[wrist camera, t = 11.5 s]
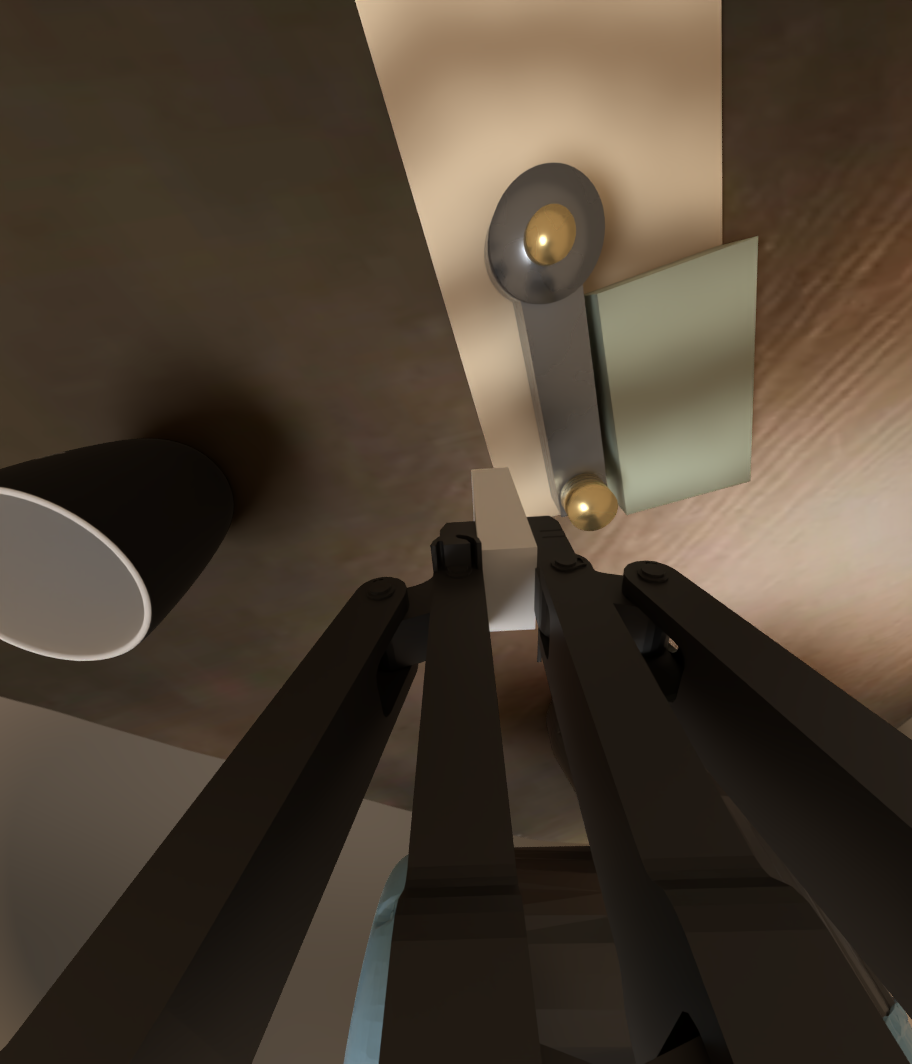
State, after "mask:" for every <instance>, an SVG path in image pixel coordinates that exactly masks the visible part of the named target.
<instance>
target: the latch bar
mask: <svg viewBox="0 0 912 1064" xmlns="http://www.w3.org/2000/svg"><path fill="white" fill-rule="evenodd" d="M604 236H605V216H604V209H603V205H602V202H601V199H600V196H599V194H598V192H597V190H596V188H595V186H594V185H593V183H592V182H591V181H590V180H589V178H588V177H587V176H586V175H584V174H583V173H582V172H581V171H579V170H578V169H576V168H574V167H572V166H570V165H567V164H563V163H553V162H552V163H544V164H540V165H537V166H534V167H532V168H530V169H528V170H527V171H525V172H524V173H522V174H521V175H519V176H518V177H517V178H516V179H515V180H514V181H513V182H512V183H511V184H510V185H509V186H508V188H507V189H506V191H505V192H504V193H503V195H502V197H501V199H500V201H499V202H498V204H497V207H496V209H495V212H494V215H493V217H492V220H491V222H490V225H489V227H488V230H487V234H486V238H485V244H484V260H485V266H486V270H487V274H488V276H489V278H490V281H491V282H492V284H493V286H494V287H495V288H496V290H497V291H498V292H499V293H500V294H501V295H502V296H503V297H505V298H506V299H508V300H509V301H511V302H513V306H514V312H515V317H516V322H517V327H518V332H519V337H520V342H521V347H522V352H523V357H524V362H525V367H526V372H527V377H528V382H529V387H530V392H531V397H532V402H533V407H534V413H535V418H536V423H537V428H538V433H539V438H540V443H541V448H542V453H543V458H544V463H545V468H546V473H547V478H548V483H549V488H550V493H551V497H552V499H553V501H554V503H555V505H556V507H557V509H558V511H559V513H560V515H561V517H565V516H568V517H569V519H570V521H571V522H572V524H573V525H574V526H575V527H577V528H578V529H581V530H584V531H594V530H598V529H601V528H603V527H605V526H606V525H608V524H609V523H610V522H611V521H612V520H613V518H614V517H615V515H616V513H617V509H618V502H617V499H616V497H615V495H614V494H613V493H612V491H611V490H610V489H609V488H608V487H607V479H606V471H605V463H604V455H603V447H602V438H601V430H600V422H599V414H598V406H597V397H596V389H595V381H594V373H593V365H592V356H591V348H590V340H589V332H588V324H587V316H586V307H585V299H584V291H583V283H584V282H585V281H586V280H587V279H588V277H589V276H590V274H591V273H592V271H593V269H594V267H595V266H596V264H597V261H598V259H599V256H600V254H601V250H602V247H603V242H604Z"/></svg>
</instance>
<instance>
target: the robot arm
mask: <svg viewBox="0 0 912 1064" xmlns="http://www.w3.org/2000/svg"><path fill="white" fill-rule="evenodd" d="M471 476H472V494H473V513H474V521H469V522H453V523H446V524H445V525H444V527H443V528H442V529H441V530H440V537H438V538H437V539H435V540H434V541H433V542H432V544H431V554H432V563H433V572H434V574H433V577H432V578H431V579H429V580H428V581H426V582H424V583H422V584H419V585H416V586H413V587H409V588H407V587H406V585H405V583H404V582H403V581H401V580H400V579H397V578H393V577H381V578H376V579H373V580H370V581H368V582H366V583H364V584H363V585H362V586H360V587H359V588H358V589H357V590H356V592H355V593H354V594H353V596H352V597H351V598H350V599H349V601H348V602H347V603H346V605H345V606H344V607H343V609H342V610H341V611H340V612H339V614H338V615H337V616H336V618H335V619H334V620H333V622H332V623H331V624H330V625H329V627H328V628H327V629H326V631H325V632H324V633H323V635H322V636H321V637H320V638H319V640H318V641H317V642H316V644H315V645H314V646H313V648H312V649H311V650H310V651H309V653H308V654H307V655H306V657H305V658H304V659H303V661H302V662H301V663H300V664H299V666H298V667H297V668H296V670H295V671H294V672H293V674H292V675H291V676H290V677H289V679H288V680H287V681H286V683H285V684H284V685H283V687H282V688H281V689H280V690H279V692H278V693H277V694H276V696H275V697H274V698H273V700H272V701H271V702H270V703H269V705H268V706H267V707H266V709H265V710H264V711H263V713H262V714H261V715H260V716H259V718H258V719H257V720H256V722H255V723H254V724H253V726H252V727H251V728H250V729H249V731H248V732H247V733H246V735H245V736H244V737H243V739H242V740H241V741H240V742H239V744H238V745H237V746H236V748H235V749H234V750H233V752H232V753H231V754H230V755H229V757H228V758H227V759H226V761H225V762H224V763H223V765H222V766H221V767H220V769H219V770H218V771H217V772H216V774H215V775H214V776H213V778H212V779H211V780H210V781H209V783H208V784H207V785H206V787H205V788H204V789H203V791H202V792H201V793H200V795H199V796H198V797H197V798H196V800H195V801H194V802H193V804H192V805H191V806H190V808H189V809H188V810H187V811H186V813H185V814H184V815H183V817H182V818H181V819H180V820H179V822H178V823H177V824H176V826H175V827H174V828H173V830H172V831H171V832H170V834H169V835H168V836H167V837H166V839H165V840H164V841H163V843H162V844H161V845H160V846H159V848H158V849H157V850H156V852H155V853H154V855H153V856H152V857H151V858H150V860H149V861H148V862H147V863H146V865H145V866H144V867H143V869H142V870H141V871H140V872H139V874H138V875H137V876H136V878H135V879H134V880H133V882H132V883H131V884H130V886H129V887H128V888H127V889H126V891H125V892H124V893H123V895H122V896H121V897H120V899H119V900H118V901H117V902H116V904H115V905H114V906H113V908H112V909H111V910H110V912H109V913H108V914H107V915H106V917H105V918H104V919H103V921H102V922H101V923H100V925H99V926H98V927H97V928H96V930H95V931H94V932H93V934H92V935H91V936H90V938H89V939H88V940H87V942H86V943H85V944H84V945H83V947H82V948H81V949H80V950H79V952H78V953H77V955H76V956H75V957H74V958H73V960H72V961H71V962H70V963H69V965H68V966H67V967H66V969H65V970H64V971H63V973H62V974H61V975H60V976H59V978H58V979H57V980H56V982H55V983H54V984H53V986H52V987H51V988H50V989H49V991H48V992H47V993H46V995H45V996H44V997H43V999H42V1000H41V1001H40V1002H39V1004H38V1005H37V1006H36V1008H35V1009H34V1010H33V1012H32V1013H31V1014H30V1015H29V1017H28V1018H27V1019H26V1021H25V1022H24V1023H23V1025H22V1026H21V1027H20V1028H19V1030H18V1031H17V1032H16V1034H15V1035H14V1036H13V1038H12V1039H11V1040H10V1041H9V1043H8V1044H7V1045H6V1046H5V1047H4V1048H3V1049H2V1050H1V1051H0V1064H252V1061H253V1059H254V1056H255V1054H256V1052H257V1049H258V1047H259V1045H260V1042H261V1040H262V1037H263V1035H264V1033H265V1030H266V1028H267V1026H268V1023H269V1021H270V1019H271V1016H272V1014H273V1011H274V1009H275V1007H276V1004H277V1002H278V1000H279V997H280V995H281V993H282V990H283V988H284V985H285V983H286V981H287V978H288V976H289V974H290V971H291V969H292V966H293V964H294V962H295V959H296V957H297V955H298V952H299V950H300V947H301V945H302V943H303V940H304V938H305V936H306V933H307V931H308V928H309V926H310V924H311V921H312V919H313V916H314V914H315V912H316V909H317V907H318V904H319V902H320V900H321V898H322V895H323V892H324V890H325V888H326V886H327V883H328V881H329V879H330V876H331V874H332V872H333V869H334V867H335V864H336V862H337V860H338V857H339V855H340V853H341V850H342V848H343V846H344V843H345V841H346V838H347V836H348V833H349V831H350V829H351V826H352V824H353V822H354V819H355V817H356V814H357V812H358V810H359V807H360V805H361V803H362V800H363V798H364V796H365V793H366V791H367V789H368V786H369V784H370V782H371V779H372V777H373V774H374V772H375V770H376V767H377V765H378V763H379V760H380V758H381V755H382V753H383V751H384V748H385V746H386V744H387V741H388V739H389V736H390V734H391V732H392V729H393V727H394V725H395V722H396V720H397V717H398V715H399V713H400V710H401V708H402V706H403V703H404V701H405V699H406V696H407V694H408V691H409V689H410V687H411V684H412V682H413V680H414V677H415V675H416V672H417V669H418V663H421V662H424V661H426V664H425V675H424V686H423V698H422V709H421V720H420V731H419V743H418V754H417V765H416V776H415V788H414V799H413V810H412V822H411V833H410V844H409V854H408V855H406V856H405V857H404V858H402V859H401V860H400V861H399V862H398V864H397V865H396V866H395V867H394V869H393V870H392V872H391V874H390V875H389V878H388V880H387V882H386V884H385V887H384V890H383V892H382V895H381V897H380V901H379V904H378V908H377V911H376V914H375V918H374V921H373V924H372V928H371V932H370V937H369V940H368V945H367V949H366V953H365V957H364V962H363V966H362V970H361V975H360V979H359V984H358V989H357V994H356V999H355V1004H354V1009H353V1014H352V1019H351V1025H350V1030H349V1036H348V1041H347V1047H346V1053H345V1059H344V1064H912V1028H911V1026H910V1024H909V1022H908V1017H907V1014H908V1015H909V1017H910V1018H911V1019H912V740H911V739H909V738H908V737H907V736H905V735H904V734H903V733H901V732H900V731H898V730H897V729H896V728H894V727H893V726H891V725H890V724H889V723H887V722H886V721H885V720H883V719H882V718H880V717H879V716H878V715H876V714H875V713H873V712H872V711H871V710H869V709H868V708H867V707H865V706H864V705H862V704H861V703H860V702H858V701H857V700H855V699H854V698H853V697H851V696H850V695H848V694H847V693H846V692H844V691H843V690H842V689H840V688H839V687H837V686H836V685H835V684H833V683H832V682H830V681H829V680H828V679H826V678H825V677H824V676H822V675H821V674H819V673H818V672H817V671H815V670H814V669H812V668H811V667H810V666H808V665H807V664H805V663H804V662H803V661H801V660H800V659H799V658H797V657H796V656H794V655H793V654H792V653H790V652H789V651H787V650H786V649H785V648H783V647H782V646H781V645H779V644H778V643H776V642H775V641H774V640H772V639H771V638H769V637H768V636H767V635H765V634H764V633H762V632H761V631H760V630H758V629H757V628H756V627H754V626H753V625H751V624H750V623H749V622H747V621H746V620H744V619H743V618H742V617H740V616H739V615H738V614H736V613H735V612H733V611H732V610H731V609H729V608H728V607H726V606H725V605H724V604H722V603H721V602H719V601H718V600H717V599H715V598H714V597H713V596H711V595H710V594H708V593H707V592H706V591H704V590H703V589H701V588H700V587H699V586H697V585H696V584H695V583H693V582H692V581H690V580H689V579H688V578H686V577H685V576H683V575H682V574H681V573H679V572H678V571H676V570H675V569H673V568H671V567H669V566H667V565H665V564H661V563H658V562H655V561H637V562H633V563H630V564H628V565H627V566H626V567H625V568H624V574H623V576H622V575H614V574H607V573H601V572H597V571H595V570H594V569H593V567H592V565H591V563H590V562H589V561H588V560H587V559H586V558H584V557H582V556H580V555H578V554H575V552H574V551H573V549H572V547H571V545H570V543H569V541H568V539H567V537H566V535H565V533H564V531H562V528H561V526H560V524H559V522H558V521H557V520H555V519H554V518H552V517H550V516H533V517H526V515H525V512H524V509H523V506H522V504H521V501H520V498H519V495H518V493H517V490H516V487H515V484H514V482H513V479H512V476H511V474H510V471H509V468H508V467H504V468H489V469H473V470H471ZM535 616H536V620H537V623H538V656H537V662H541V659H543V663H544V667H545V671H546V675H547V679H548V683H549V687H550V691H551V695H552V701H551V703H550V705H549V708H548V711H547V718H546V723H547V729H548V734H549V738H550V743H551V747H552V750H553V753H554V755H555V758H556V759H557V761H558V763H559V765H560V766H561V768H562V770H563V772H564V773H565V775H566V777H567V779H568V780H569V782H570V784H571V785H572V787H573V789H574V791H575V792H576V794H577V797H578V801H579V805H580V809H581V813H582V817H583V821H584V825H585V829H586V833H587V837H588V841H589V845H590V846H564V847H563V846H562V847H561V846H559V847H515V848H514V845H513V835H512V826H511V818H510V809H509V800H508V791H507V782H506V773H505V764H504V755H503V746H502V737H501V728H500V719H499V710H498V701H497V693H496V684H495V675H494V666H493V657H492V648H491V639H490V631H509V630H528V629H535ZM669 638H671V639H672V640H673V641H674V642H675V643H676V644H677V645H678V647H679V648H678V650H677V649H675V648H674V647H673V646H672V645H671V644H670V643H669ZM889 992H890V993H891V994H890V993H889ZM891 995H892V996H893V997H892V996H891ZM906 1013H907V1014H906Z"/></svg>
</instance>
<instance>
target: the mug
mask: <svg viewBox="0 0 912 1064" xmlns="http://www.w3.org/2000/svg"><path fill="white" fill-rule="evenodd" d="M233 509H234V502H233V494H232V491H231V488H230V485H229V483H228V481H227V479H226V477H225V476H224V474H223V473H222V471H221V470H220V469H219V468H218V467H217V466H216V465H215V464H214V463H213V462H212V461H211V460H210V459H209V458H208V457H206V456H205V455H204V454H202V453H200V452H199V451H197V450H195V449H193V448H191V447H189V446H187V445H184V444H181V443H178V442H174V441H169V440H163V439H148V438H144V439H131V440H122V441H115V442H109V443H103V444H98V445H93V446H88V447H83V448H78V449H74V450H69V451H65V452H61V453H57V454H53V455H49V456H45V457H41V458H37V459H34V460H30V461H26V462H23V463H19V464H16V465H13V466H9V467H6V468H2V469H0V639H1V640H3V641H5V642H7V643H10V644H12V645H14V646H17V647H19V648H22V649H25V650H28V651H31V652H34V653H37V654H41V655H45V656H49V657H54V658H59V659H66V660H76V661H91V660H101V659H107V658H112V657H115V656H118V655H121V654H123V653H126V652H128V651H129V650H131V649H133V648H134V647H135V646H137V645H138V644H139V643H140V642H142V641H143V640H144V639H145V638H146V637H147V636H148V635H149V634H150V633H151V632H152V631H153V630H154V629H155V628H156V627H157V626H158V625H159V624H160V622H161V621H162V620H163V619H164V618H165V617H166V616H167V615H168V613H169V612H170V611H171V610H172V609H173V608H174V606H175V605H176V604H177V603H178V602H179V601H180V599H181V598H182V597H183V596H184V594H185V593H186V592H187V591H188V590H189V588H190V587H191V586H192V584H193V583H194V582H195V581H196V579H197V578H198V577H199V575H200V574H201V573H202V571H203V570H204V569H205V567H206V566H207V564H208V563H209V561H210V560H211V558H212V557H213V555H214V554H215V552H216V551H217V549H218V548H219V546H220V544H221V543H222V541H223V539H224V537H225V535H226V533H227V531H228V529H229V527H230V524H231V521H232V516H233Z"/></svg>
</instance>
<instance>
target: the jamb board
mask: <svg viewBox="0 0 912 1064" xmlns="http://www.w3.org/2000/svg"><path fill="white" fill-rule="evenodd" d="M355 2H356V5H357V8H358V12H359V15H360V18H361V22H362V25H363V29H364V32H365V35H366V39H367V42H368V46H369V49H370V52H371V56H372V59H373V62H374V66H375V69H376V73H377V76H378V79H379V83H380V86H381V89H382V93H383V96H384V100H385V103H386V106H387V110H388V113H389V116H390V120H391V123H392V127H393V130H394V133H395V137H396V140H397V143H398V147H399V150H400V154H401V157H402V160H403V164H404V167H405V170H406V174H407V177H408V181H409V184H410V187H411V191H412V194H413V197H414V201H415V204H416V208H417V211H418V214H419V218H420V221H421V225H422V228H423V231H424V235H425V238H426V241H427V245H428V248H429V252H430V255H431V258H432V262H433V265H434V268H435V272H436V275H437V279H438V282H439V285H440V289H441V292H442V295H443V299H444V302H445V306H446V309H447V312H448V316H449V319H450V322H451V326H452V329H453V333H454V336H455V339H456V343H457V346H458V349H459V353H460V356H461V360H462V363H463V366H464V370H465V373H466V376H467V380H468V383H469V387H470V390H471V393H472V397H473V400H474V404H475V407H476V410H477V414H478V417H479V420H480V424H481V427H482V431H483V434H484V437H485V441H486V444H487V447H488V451H489V454H490V458H491V461H492V464H493V468H504V467H508V468H509V471H510V474H511V476H512V479H513V482H514V484H515V487H516V490H517V493H518V495H519V498H520V501H521V504H522V506H523V509H524V512H525V515H526V517H533V516H550V517H552V516H556V515H559V514H560V513H559V511H558V509H557V507H556V505H555V503H554V501H553V499H552V497H551V493H550V488H549V483H548V478H547V473H546V468H545V463H544V458H543V453H542V448H541V443H540V438H539V433H538V428H537V423H536V418H535V413H534V407H533V402H532V397H531V392H530V387H529V382H528V377H527V372H526V367H525V362H524V357H523V352H522V347H521V342H520V337H519V332H518V327H517V322H516V317H515V312H514V306H513V302H511V301H509V300H508V299H506V298H505V297H503V296H502V295H501V294H500V293H499V292H498V291H497V290H496V288H495V287H494V286H493V284H492V282H491V281H490V278H489V276H488V274H487V270H486V266H485V260H484V244H485V238H486V234H487V230H488V227H489V225H490V222H491V220H492V217H493V215H494V212H495V209H496V207H497V204H498V202H499V201H500V199H501V197H502V195H503V193H504V192H505V191H506V189H507V188H508V186H509V185H510V184H511V183H512V182H513V181H514V180H515V179H516V178H517V177H518V176H519V175H521V174H522V173H524V172H525V171H527V170H528V169H530V168H532V167H534V166H537V165H540V164H544V163H552V162H553V163H563V164H567V165H570V166H572V167H574V168H576V169H578V170H579V171H581V172H582V173H583V174H584V175H586V176H587V177H588V178H589V180H590V181H591V182H592V183H593V185H594V186H595V188H596V190H597V192H598V194H599V196H600V199H601V202H602V205H603V209H604V216H605V236H604V242H603V247H602V250H601V254H600V256H599V259H598V261H597V264H596V266H595V267H594V269H593V271H592V273H591V274H590V276H589V277H588V279H587V280H586V281H585V282H584V283H583V291H584V299H585V307H586V316H587V324H588V332H589V340H590V348H591V356H592V365H593V373H594V381H595V389H596V397H597V406H598V414H599V422H600V430H601V438H602V447H603V455H604V463H605V471H606V479H607V487H608V488H609V489H610V490H611V491H612V493H613V494H614V495H615V497H616V499H617V502H618V505H619V506H620V507H621V509H622V510H623V511H624V512H625V513H626V515H629V514H633V513H636V512H640V511H644V510H647V509H651V508H654V507H658V506H662V505H665V504H669V503H673V502H676V501H680V500H684V499H687V498H691V497H695V496H698V495H702V494H706V493H709V492H713V491H716V490H720V489H724V488H727V487H731V486H735V485H738V484H742V483H746V482H749V481H750V479H751V447H752V416H753V384H754V352H755V320H756V289H757V257H758V236H756V237H752V238H748V239H744V240H740V241H736V242H732V243H728V244H724V245H722V34H721V0H355Z"/></svg>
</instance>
